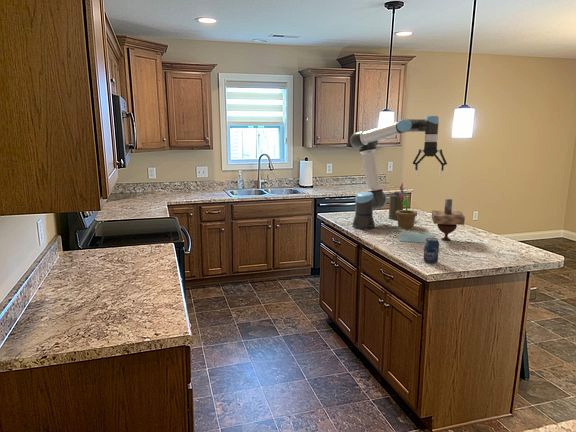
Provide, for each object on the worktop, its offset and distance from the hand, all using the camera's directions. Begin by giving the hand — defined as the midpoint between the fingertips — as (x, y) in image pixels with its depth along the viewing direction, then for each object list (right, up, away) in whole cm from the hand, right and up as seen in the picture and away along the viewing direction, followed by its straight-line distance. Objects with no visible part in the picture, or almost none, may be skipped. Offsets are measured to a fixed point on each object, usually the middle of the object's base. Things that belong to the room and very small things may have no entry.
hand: (428, 175), depth 271 cm
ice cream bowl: (+7, -40, -10) cm, 42 cm away
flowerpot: (-8, -33, +25) cm, 42 cm away
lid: (+7, -28, -13) cm, 32 cm away
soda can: (-16, -49, -53) cm, 74 cm away
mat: (-10, -39, -6) cm, 40 cm away
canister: (-8, -27, +51) cm, 58 cm away
